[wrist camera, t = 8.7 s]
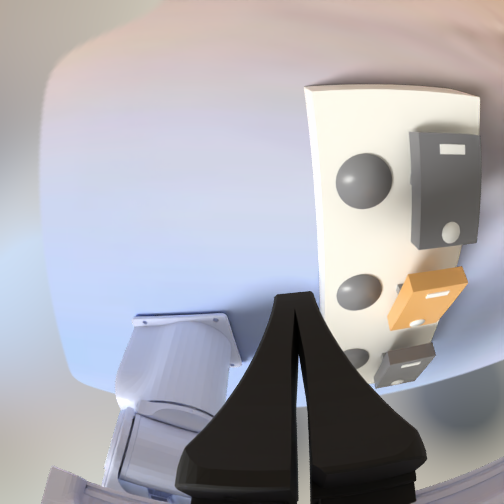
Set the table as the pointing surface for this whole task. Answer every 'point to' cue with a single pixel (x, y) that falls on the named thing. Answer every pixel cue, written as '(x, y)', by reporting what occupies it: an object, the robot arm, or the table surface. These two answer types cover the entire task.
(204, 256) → the table surface
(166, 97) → the table surface
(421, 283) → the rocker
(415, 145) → the rocker
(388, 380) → the block
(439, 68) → the table surface
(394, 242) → the switch panel
